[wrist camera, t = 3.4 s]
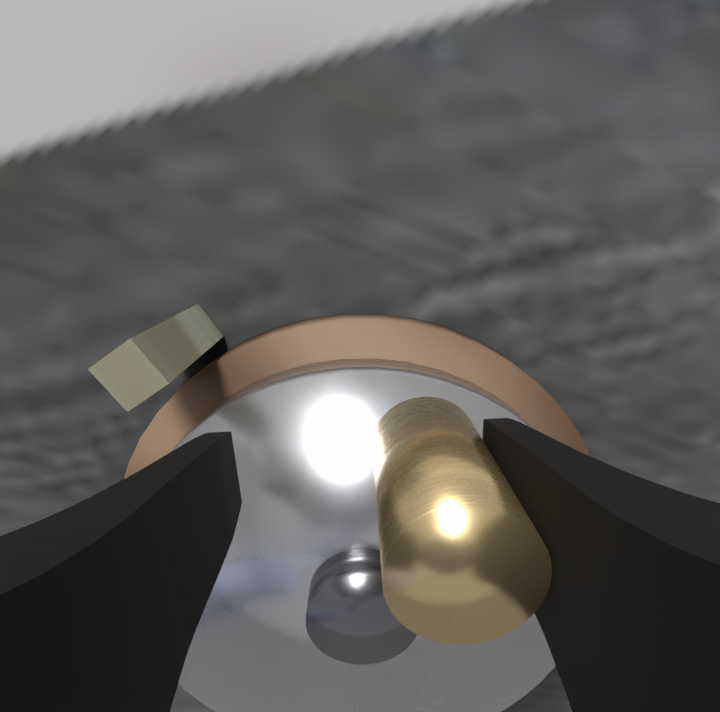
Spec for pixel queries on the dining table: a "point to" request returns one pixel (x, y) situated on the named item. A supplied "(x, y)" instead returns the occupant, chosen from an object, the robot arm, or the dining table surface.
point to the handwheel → (370, 550)
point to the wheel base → (297, 348)
